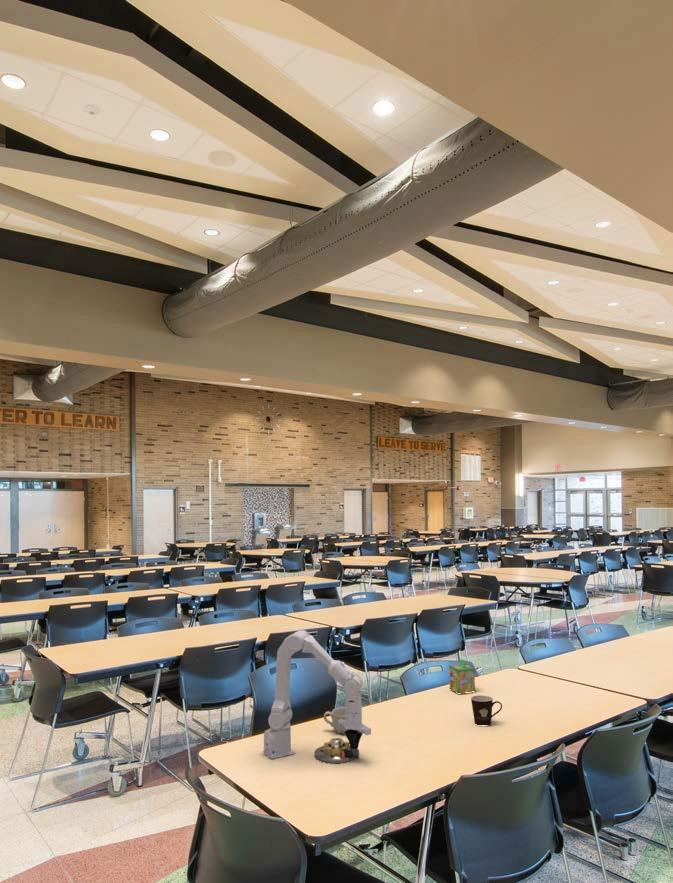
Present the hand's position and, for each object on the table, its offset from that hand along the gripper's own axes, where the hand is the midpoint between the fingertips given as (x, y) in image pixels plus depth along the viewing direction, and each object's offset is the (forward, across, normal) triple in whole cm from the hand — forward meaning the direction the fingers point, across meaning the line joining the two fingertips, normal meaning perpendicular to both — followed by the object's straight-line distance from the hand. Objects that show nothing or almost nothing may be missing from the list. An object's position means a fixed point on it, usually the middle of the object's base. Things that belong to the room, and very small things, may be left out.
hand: (354, 751), depth 229 cm
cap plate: (+2, -7, -2) cm, 8 cm away
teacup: (+3, -24, +17) cm, 29 cm away
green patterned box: (+3, -20, +95) cm, 97 cm away
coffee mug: (+3, +15, +62) cm, 63 cm away
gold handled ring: (+1, -4, -2) cm, 5 cm away
